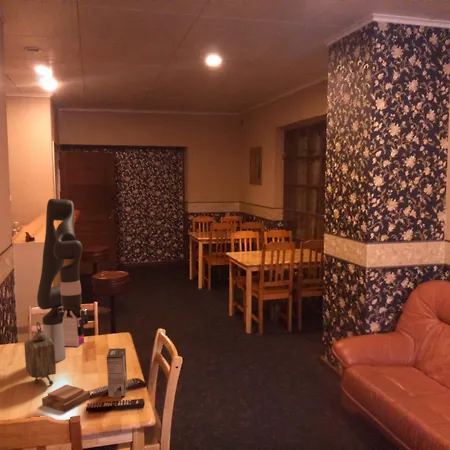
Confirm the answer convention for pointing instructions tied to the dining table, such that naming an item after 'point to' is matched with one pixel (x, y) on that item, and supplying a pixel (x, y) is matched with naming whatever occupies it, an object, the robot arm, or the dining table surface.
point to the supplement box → (71, 333)
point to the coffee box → (117, 372)
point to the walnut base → (65, 405)
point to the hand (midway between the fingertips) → (73, 334)
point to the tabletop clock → (40, 356)
